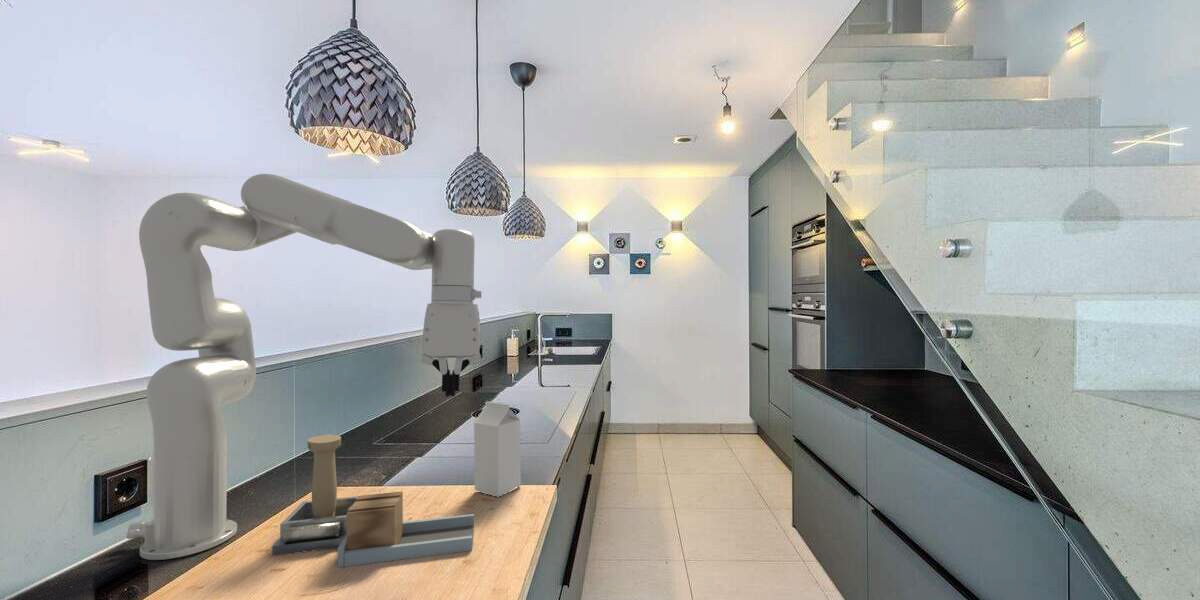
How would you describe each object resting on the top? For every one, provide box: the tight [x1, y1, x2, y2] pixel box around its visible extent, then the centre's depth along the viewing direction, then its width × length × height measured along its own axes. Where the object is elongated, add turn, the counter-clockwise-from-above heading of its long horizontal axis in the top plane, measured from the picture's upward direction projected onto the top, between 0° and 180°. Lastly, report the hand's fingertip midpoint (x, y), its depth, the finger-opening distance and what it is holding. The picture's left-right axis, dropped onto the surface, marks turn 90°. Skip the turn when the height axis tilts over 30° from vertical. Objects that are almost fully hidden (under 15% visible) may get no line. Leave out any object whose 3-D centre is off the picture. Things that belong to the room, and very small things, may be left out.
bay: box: [337, 513, 475, 568], centre depth 78 cm, size 20×9×3 cm, turn 103°
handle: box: [307, 434, 342, 519], centre depth 83 cm, size 5×6×15 cm
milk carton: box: [473, 401, 522, 498], centre depth 102 cm, size 7×7×19 cm
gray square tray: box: [271, 495, 359, 557], centre depth 82 cm, size 11×12×4 cm
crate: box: [347, 491, 404, 551], centre depth 77 cm, size 7×7×7 cm
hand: (450, 395), depth 86 cm, fingers closed
